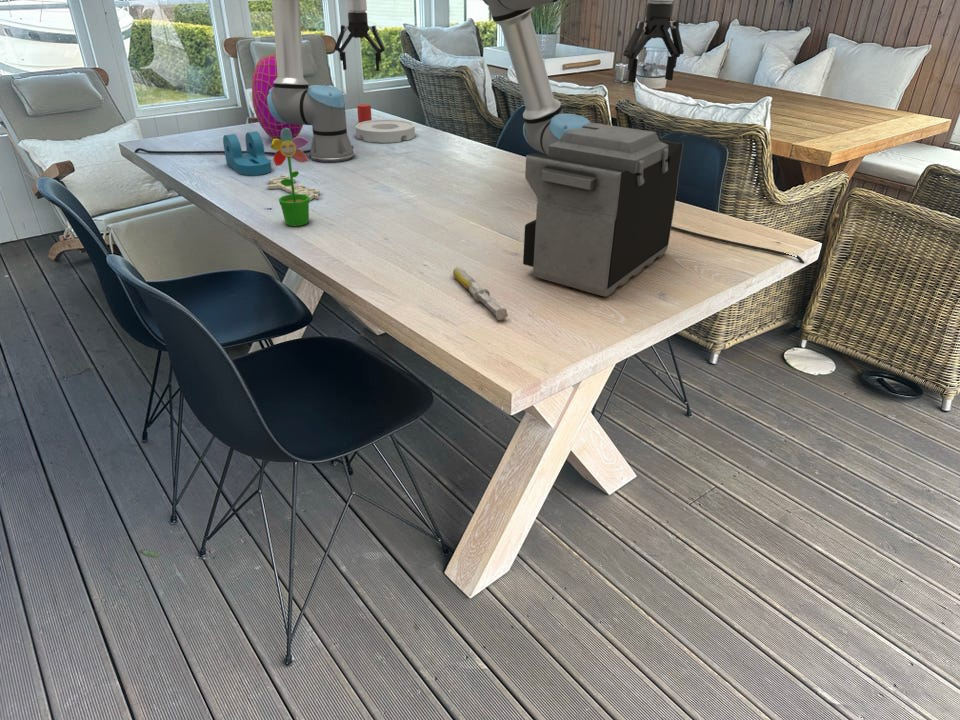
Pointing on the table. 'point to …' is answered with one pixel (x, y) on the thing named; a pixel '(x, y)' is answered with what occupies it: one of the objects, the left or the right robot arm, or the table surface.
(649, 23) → the right robot arm
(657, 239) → the grey cooler box
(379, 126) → the ashtray
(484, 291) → the syringe
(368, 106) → the canister
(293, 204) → the potted flower
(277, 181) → the decorative sign
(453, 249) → the table surface
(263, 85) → the decorative egg
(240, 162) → the camera mount
